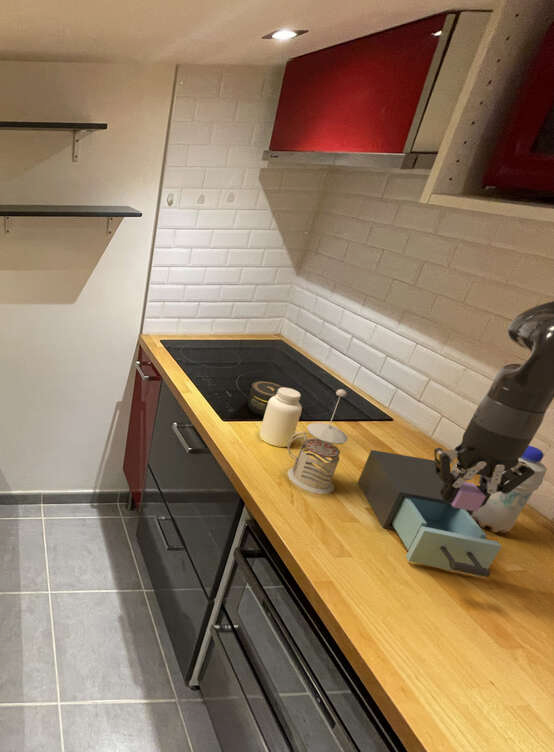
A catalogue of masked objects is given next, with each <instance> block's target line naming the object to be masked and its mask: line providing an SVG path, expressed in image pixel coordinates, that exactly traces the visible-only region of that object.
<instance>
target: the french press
mask: <svg viewBox="0 0 554 752" xmlns="http://www.w3.org/2000/svg"><path fill="white" fill-rule="evenodd" d="M335 394H336V396H339V397H338V399H337V402H336V405H335V406H334V411H333V413H332V415H331V419H330V421H329V423H326V422H325V423H324V422H314V423H309V424H308V425H307V426H306V430H307V432H308V434H309V435H310V436H312V437H313V438H308V436H307V432H306V431H298V432H295V433H294V435H292V436H291V437H290V439H289V441H288V444H287V446H286V448H287V451H288V455H289V456H290V457H291V459H293V461H294V464H293V467H290V468H289V469H288V470H287V474H286V475H287V477H288V479H289V480H290V482H292V484H294V485H295V486H297V487H299V488H300V489H302V490H304V491H306V492H309V493H312V494H318V495H327V494H328V495H329V494H332V492H333V491H334V490H335V489H334V488H335V486H334V484H333V482H332V480H333V477H334V475H335V473H336V469H337V467H338V464H339V462H340V455H341V451H340V449H339V447H337V446H336V445H343V444H345V443H346V442H348V440H349V436H348V435H347V434H346V433H345V431H343V430H341V429H340V428H338V427H337V426H334V425H332V422H333V420H334V419H333V418H334V416H335V413H336V410H337V407H338V405H339V402H340V399H341V397H344V398H345V397H346V396H347V391H346V390H345V389H342V388H341V389H337V390H336V391H335ZM301 433H304V434H303V435H298V434H301ZM297 435H298V436H297ZM295 436H296V437H295ZM292 437H293V439H292V441H291V443H290V444H289V442H290V440H291V438H292ZM302 437H303V440H304V442H303V444H301V445H300V449H299V453H298V455H295V454H294V453H292V452H291V448H290V447H291V445H292V444H293V442H294V441H295V440H297V439H298V438H299V439H300V438H302ZM309 451H310V452H309ZM328 458H329V459H328ZM330 459H331V460H330ZM325 461H326V462H325ZM316 465H317V466H316Z"/></svg>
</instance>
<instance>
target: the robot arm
mask: <svg viewBox="0 0 554 752" xmlns="http://www.w3.org/2000/svg"><path fill="white" fill-rule="evenodd" d="M507 335H508V337H509V339H510V340H511V342H513V343H514V344H515V345H516V346H518V347H520V348H522V349H524V350H526V351H528V352H529V353H531V354H530V356H529V357H528V358H527V360H526V361H525V362H524V363H509V364H506V365H504V366H502V367H501V368H500V369H499V370H498V372H497V373H496V375H495V377H494V379H493V381H492V383H491V384H490V387H489V389H488V390H487V392H486V393H485V396H484V397H483V398H482V400H481V401H480V402H479V403H478V405H477V407H476V409H475V411H474V413H473V415H472V417H471V419H470V421H469V422H468V424H467V427H466V428H465V430H464V432H463V434H462V440H461V443H459V445H457V446H456V447H455V448H454V449H447V450H444V449H442V447H436V448H434V451H433V452H434V460H435V471H436V474H437V475H438V476H439V477H440V479H441V480H442V481H443V482H444V485H443V487H442V489H441V491H440V494H441V496H442V498H443V499H444V500H445V501H446V502H447V503H453V501H454V499H455V497H456V495H457V493H458V492H459V490H460V488H459V487H461V486H462V485H463V484H464V482H467V481H471V480H472V479H473V478H474V477H475V476H477V475H478V476H479V475H480V476H479V481H478V484H479V485H478V484H477V485H476V484H475V485H476V486H477V488H478V489H479V490H480V491H481V492H482V493H483V494H484V495H485V496H486V497H485V499H484V501H483V503H482V504H481V506H484V505H485V504H486V503H487V501H488V499H489V498H490V496H491V494H494V493H496V492H502V493H504V494H507V493H509V492H511V491H512V490H513V489H515V488H516V487H517V486H519V485H520V484H521V483H523V482H524V481H525V480H527V479H528V478H530V477H531V476H532V475H534V474H535V471H534V470H533V469H532V468H531V467H529V466H528V465H527V464H526V463H525V462H522V461H520V462H519V460H518V459H519V458H521V457H522V456H523V454H524V452H525V451H526V449H527V447H528V446H530V444H531V442H532V440H534V437H535V435H536V434H537V432H538V430H539V429H540V427H541V425H542V423H543V422H544V418H545V415H546V413H547V411H548V409H549V407H550V406H551V404H552V402H553V401H554V301H548V302H544V303H541V304H539V305H536V306H532V307H531V308H529V309H526V310H524V311H523V312H521V313H520V314H518V315H517V316H515V317H514V318H513V320H512V321H511V322H510V323H509V325H508V327H507ZM455 459H457V460H456V461H455V462H454V460H455ZM451 465H452V467H451ZM505 471H506V472H505ZM503 472H504V473H503ZM502 473H503V474H502ZM508 480H509V482H508V483H506V482H507V481H508ZM504 483H506V484H504ZM481 506H480V508H481ZM480 508H479V509H480Z"/></svg>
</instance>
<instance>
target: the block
mask: <svg viewBox="0 0 554 752" xmlns="http://www.w3.org/2000/svg"><path fill="white" fill-rule="evenodd" d="M459 488H460V490H459V492H458V493H457V495H456V497H455V499H454V501H453V503H450V504H451V505H452V506H453V507H455V508H460V509H465V510H470V511H475V512H477V511H478V509H479V508H480V506H481V504H482V503H483V501H484V499H485V497H486V496H485V495H484V494H483V493H482V492H481V491H480V490H479V489H478V488H477V486H476V484H475V483H472V482H467V481H465V482H464V484H463V485H462V486H461V487H459Z"/></svg>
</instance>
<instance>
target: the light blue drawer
mask: <svg viewBox="0 0 554 752" xmlns="http://www.w3.org/2000/svg"><path fill="white" fill-rule="evenodd" d="M391 523H392V524H393V526H394V528H395V529H396V530H395V532H396V533H397V535H398V536H399V538H400V540H401V542H402V543H403V545H404V546H405V548H406V550H407V553H406V555H405V558H406V559H407V562H410V563H415V564H420V565H424V566H429V567H433V568H438V569H442V570H446V571H451V572H455V573H461V574H464V575H468V576H474V577H479V578H488V577H489V576H490V570H489V568H490V566H491V564H492V563H493V561H494V560H495V558H496V556H497V555H498V554H499V552H500V551H501V549H502V545H501V544H500V543H499V541H498V540H497V541H496V540H491V539H486V538H487V537H488V536H487V534H486V533H485V531H484V530H483V529H482V527H481V526H480V525H479V523H477V522H475V521H474V519H473V518H472V515H471V516H470V515H469V513H468V512H467V511H466V510H465V509H460V508H455V507H453V506H452V505H447V504H442V503H437V502H431V501H426V500H421V499H415V498H410V497H405V496H403V497H402V500H401V502H400V504H399V506H398V508H397V510H396V512H395V514H394V516H393V518H392V520H391Z"/></svg>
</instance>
